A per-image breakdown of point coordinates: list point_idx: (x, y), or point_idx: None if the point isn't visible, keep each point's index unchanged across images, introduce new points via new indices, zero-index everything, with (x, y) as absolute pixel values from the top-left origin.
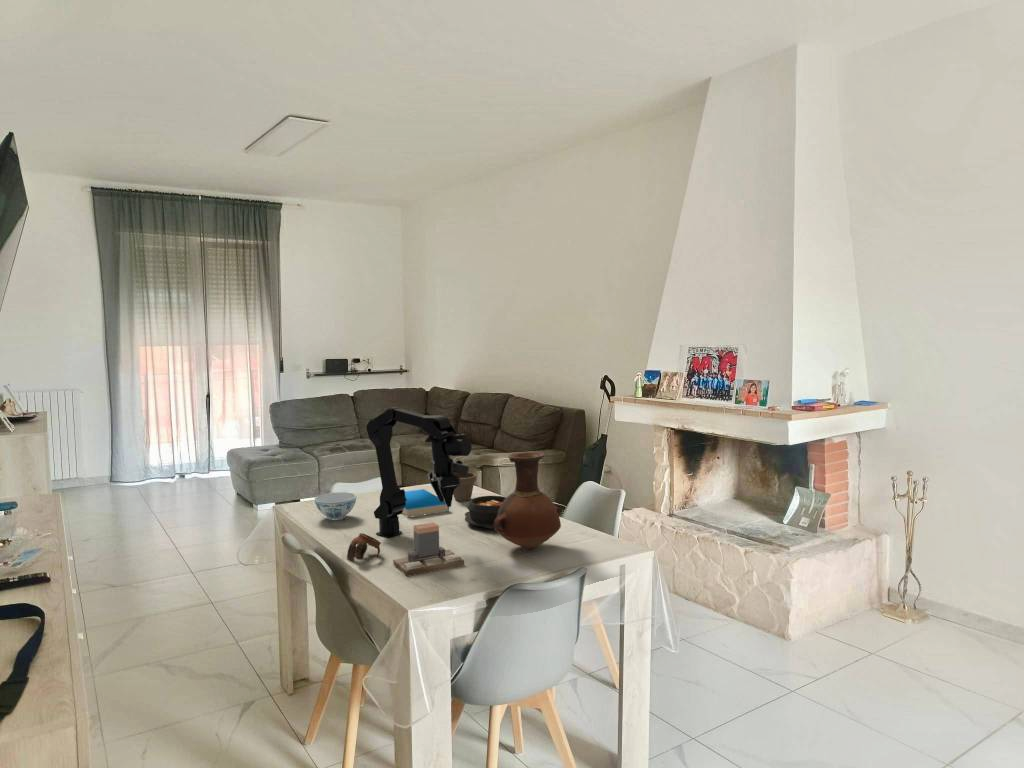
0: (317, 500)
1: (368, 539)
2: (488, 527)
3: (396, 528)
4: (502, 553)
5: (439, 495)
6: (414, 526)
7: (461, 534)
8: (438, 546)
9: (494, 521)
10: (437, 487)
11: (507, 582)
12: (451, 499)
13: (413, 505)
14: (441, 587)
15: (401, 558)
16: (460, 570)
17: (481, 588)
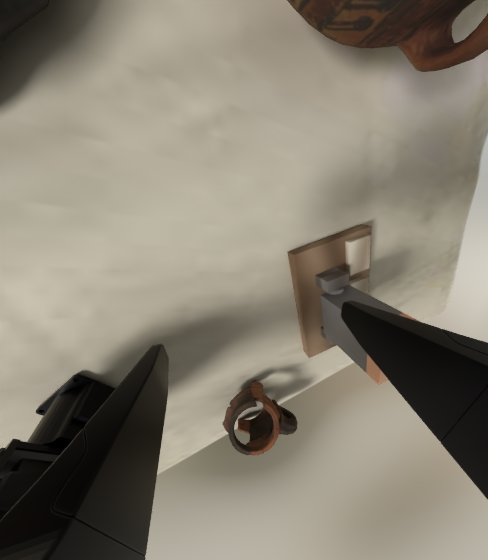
0: None
1: (279, 428)
2: (38, 5)
3: (98, 400)
4: (334, 84)
5: (160, 410)
6: (384, 380)
7: (87, 187)
8: (361, 293)
9: (481, 45)
10: (128, 532)
11: (474, 150)
12: (407, 322)
13: None
14: (420, 274)
15: (308, 346)
16: (380, 236)
17: (460, 210)
